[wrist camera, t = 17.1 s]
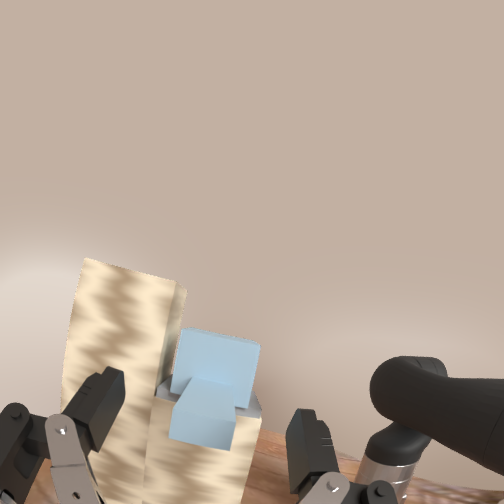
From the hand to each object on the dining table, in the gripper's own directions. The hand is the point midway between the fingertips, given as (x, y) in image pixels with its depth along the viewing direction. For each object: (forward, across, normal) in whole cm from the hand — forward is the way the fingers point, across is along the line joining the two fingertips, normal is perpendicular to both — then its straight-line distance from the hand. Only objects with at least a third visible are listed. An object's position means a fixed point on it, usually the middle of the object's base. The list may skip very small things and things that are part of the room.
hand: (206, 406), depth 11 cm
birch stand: (-1, +5, +34) cm, 35 cm away
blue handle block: (+8, 0, +8) cm, 11 cm away
